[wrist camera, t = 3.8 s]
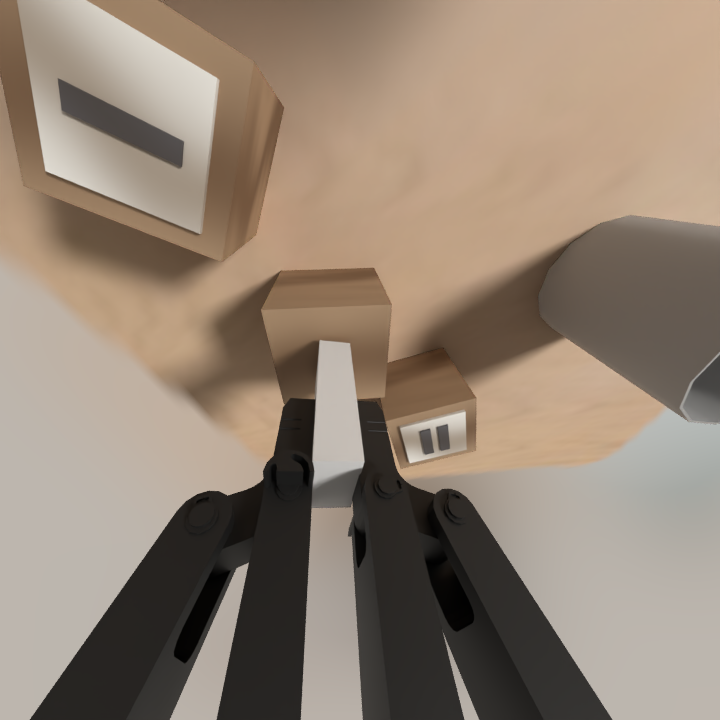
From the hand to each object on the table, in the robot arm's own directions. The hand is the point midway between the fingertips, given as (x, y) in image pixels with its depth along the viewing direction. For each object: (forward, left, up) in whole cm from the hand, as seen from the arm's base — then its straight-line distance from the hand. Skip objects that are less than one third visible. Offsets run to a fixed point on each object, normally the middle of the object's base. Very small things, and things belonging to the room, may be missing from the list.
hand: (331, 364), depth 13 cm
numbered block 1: (-8, -7, -6) cm, 12 cm away
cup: (-5, +19, -7) cm, 21 cm away
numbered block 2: (+6, +8, -6) cm, 12 cm away
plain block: (0, 0, -6) cm, 6 cm away
